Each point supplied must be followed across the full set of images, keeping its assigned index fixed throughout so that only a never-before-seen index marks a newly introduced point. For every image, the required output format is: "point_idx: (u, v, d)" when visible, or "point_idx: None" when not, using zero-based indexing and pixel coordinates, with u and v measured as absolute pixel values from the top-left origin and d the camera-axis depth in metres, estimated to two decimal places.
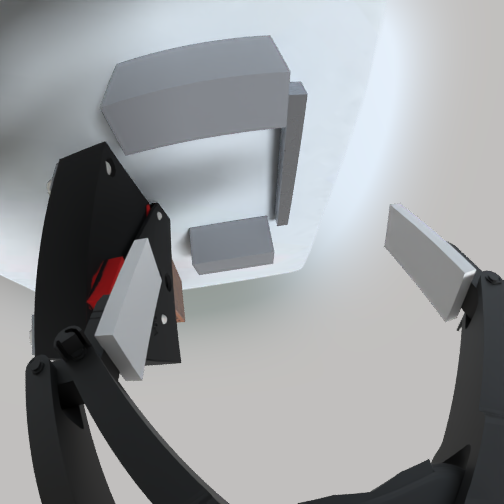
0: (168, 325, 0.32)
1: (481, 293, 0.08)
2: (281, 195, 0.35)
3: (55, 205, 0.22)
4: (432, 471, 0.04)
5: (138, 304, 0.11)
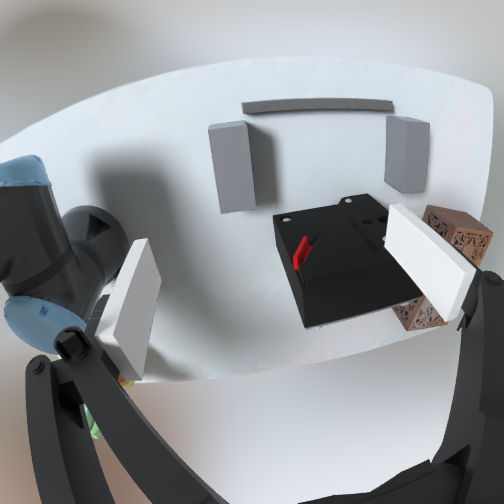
0: None
1: (481, 293, 0.08)
2: (347, 107, 0.37)
3: (282, 260, 0.45)
4: (432, 471, 0.04)
5: (138, 304, 0.11)
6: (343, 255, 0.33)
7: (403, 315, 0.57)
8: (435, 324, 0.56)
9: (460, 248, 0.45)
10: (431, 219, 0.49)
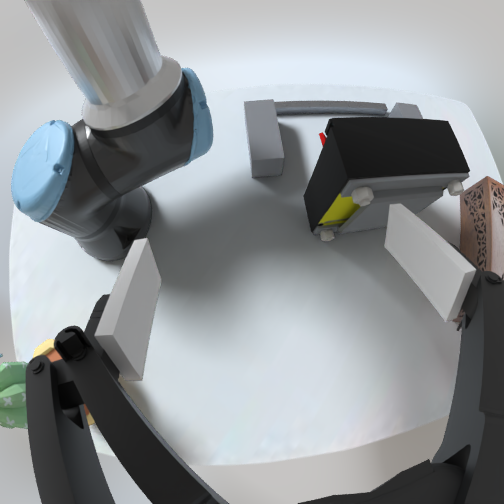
0: None
1: (481, 293, 0.08)
2: (350, 106, 0.48)
3: (317, 212, 0.40)
4: (432, 471, 0.04)
5: (138, 304, 0.11)
6: None
7: None
8: None
9: (502, 204, 0.36)
10: (467, 199, 0.44)
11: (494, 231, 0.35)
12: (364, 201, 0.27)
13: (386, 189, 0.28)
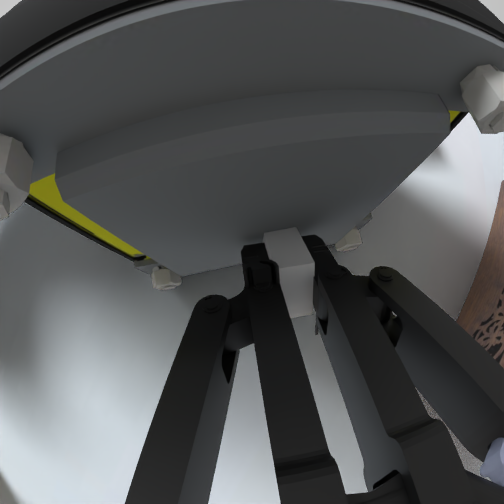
0: None
1: (326, 297, 0.09)
2: None
3: None
4: None
5: None
6: None
7: None
8: None
9: None
10: None
11: None
12: None
13: (121, 119, 0.05)
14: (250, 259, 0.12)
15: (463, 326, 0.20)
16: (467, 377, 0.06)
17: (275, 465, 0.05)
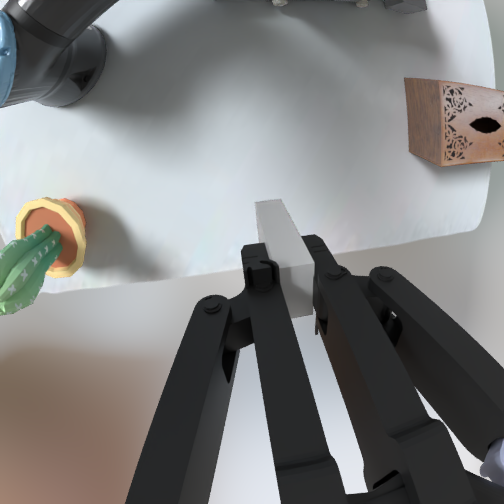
0: None
1: (326, 297, 0.09)
2: None
3: None
4: None
5: None
6: None
7: None
8: (443, 137, 0.35)
9: None
10: None
11: (492, 93, 0.30)
12: None
13: None
14: (250, 259, 0.12)
15: None
16: (467, 377, 0.06)
17: (275, 465, 0.05)
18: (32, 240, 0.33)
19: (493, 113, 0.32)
